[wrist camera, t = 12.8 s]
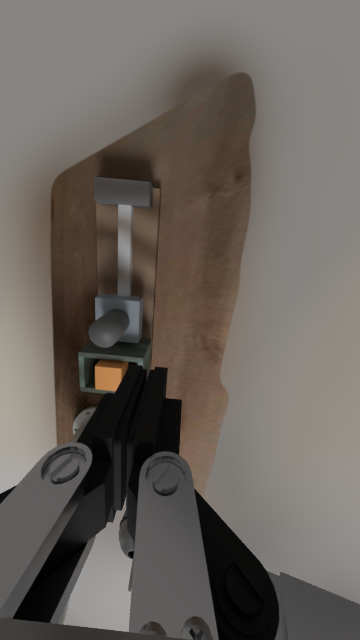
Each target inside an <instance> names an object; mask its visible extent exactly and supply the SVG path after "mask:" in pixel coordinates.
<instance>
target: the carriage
mask: <svg viewBox="0 0 360 640" xmlns="http://www.w3.org/2000/svg"><path fill="white" fill-rule="evenodd" d="M142 319H143V298H139V296H131V297H128V296H117V294H108V295H107V294H101V295H99V296H97V297H95V321H94V322H93V323H92V324H91V325H90V327H89V332H88V333H89V337H90V339H91V341H92V342H93V343H94V344H95V345H97V346H99V347H103V348H107V347H111V346H113V345H114V344H115V343H116V342H117V341H121V342H131V343H138V342H139V341H140V339H141V337H142Z"/></svg>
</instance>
